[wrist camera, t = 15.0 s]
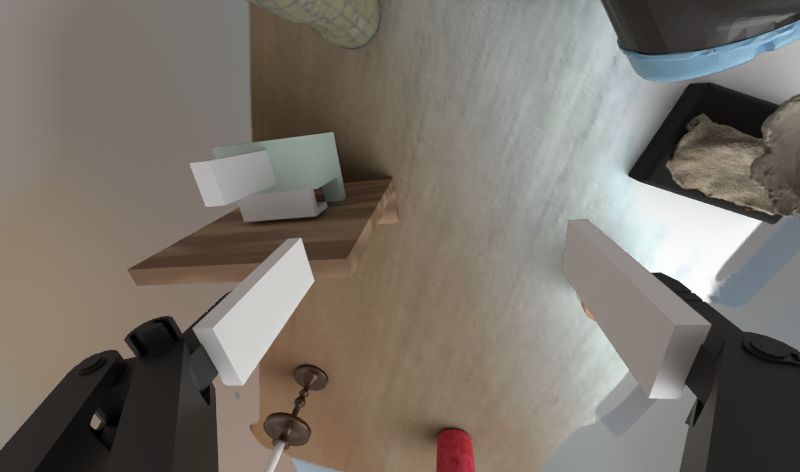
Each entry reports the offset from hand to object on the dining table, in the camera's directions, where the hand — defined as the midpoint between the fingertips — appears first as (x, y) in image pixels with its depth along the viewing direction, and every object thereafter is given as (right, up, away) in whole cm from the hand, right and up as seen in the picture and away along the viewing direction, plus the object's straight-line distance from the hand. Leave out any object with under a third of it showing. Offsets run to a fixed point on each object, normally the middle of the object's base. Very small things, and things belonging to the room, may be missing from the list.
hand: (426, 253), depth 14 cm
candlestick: (-25, -37, +63) cm, 78 cm away
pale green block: (-16, +11, +28) cm, 34 cm away
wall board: (-14, +9, +39) cm, 42 cm away
